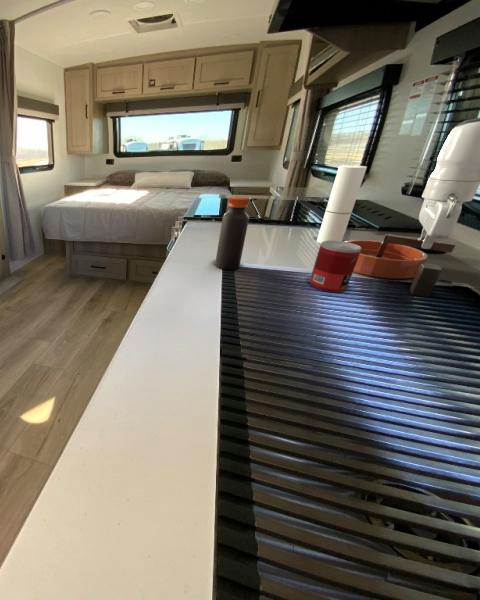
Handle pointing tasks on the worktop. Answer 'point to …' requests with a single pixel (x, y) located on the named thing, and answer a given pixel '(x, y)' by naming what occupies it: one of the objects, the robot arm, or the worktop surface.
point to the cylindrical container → (341, 203)
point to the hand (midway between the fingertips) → (424, 246)
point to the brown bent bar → (411, 244)
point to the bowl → (388, 260)
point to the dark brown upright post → (425, 279)
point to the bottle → (232, 234)
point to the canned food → (334, 265)
